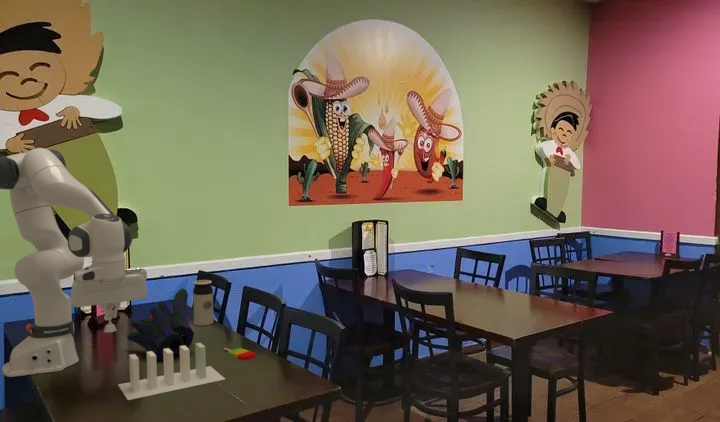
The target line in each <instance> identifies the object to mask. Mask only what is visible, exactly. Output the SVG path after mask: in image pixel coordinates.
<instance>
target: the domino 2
mask: <svg viewBox="0 0 720 422" xmlns="http://www.w3.org/2000/svg"><path fill="white" fill-rule="evenodd" d="M157 371H158V370H157V359H156V355H155V354H154V353H153V352H152V351H146V374H147V375H146V379H147V382H148V385H149V386H150V388H151V389H155V388H157V377H158V374H157V373H158V372H157Z"/></svg>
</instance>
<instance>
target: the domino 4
mask: <svg viewBox="0 0 720 422" xmlns="http://www.w3.org/2000/svg"><path fill="white" fill-rule="evenodd" d="M190 355H191V354H190V348H189V347H188V348H187V347H186V346H185V345H184V346H180V354H179V371H180V377H181V378H182V379H183V380H184V381H185V382H188V381H190V370H191V358H190V357H191V356H190Z"/></svg>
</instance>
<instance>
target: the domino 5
mask: <svg viewBox="0 0 720 422" xmlns="http://www.w3.org/2000/svg"><path fill="white" fill-rule="evenodd" d="M194 345H195V346H194V347H195V348H194V349H195V369H196V374H197V375H198V376H199V377H200V378H201V379H202V378H206V367H207V365H206V363H207V362H206V361H207V359H206V357H207V356H206V345H204V344H203V343H202V342H196V343H195V344H194Z"/></svg>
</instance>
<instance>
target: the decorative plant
mask: <svg viewBox="0 0 720 422" xmlns="http://www.w3.org/2000/svg"><path fill="white" fill-rule="evenodd" d="M188 299H189V293H188V291H187V289H185V288H181V289H179V290H178V291H177V292H175V295H174V297H173V301H172V306H173V307H172V308H173V309H172V312H171V311H170V309H169V308H168V305H167V304H166V302H165V301H160V302H158V305H157V307H156V306H152V307H150V313H151V316H150V317H149V319H148V318H141V319H140V320H139V321H138V320H134V321H132V323H131V326H132V328H134V329H135V331H134V330H133V331H132V332H129V333H128V334H127V336H126V338H127V341H131V342H134V343H135V344H136V345H139V346H141V347H142V348H144V350H146V351H147V352H149V351H152V352H153V353H154V354H155V355H156V360H159V361H162V362H164V356H163V349H166V348H169V349H170V350H171V351H172V352H173V356H175V355H176V354H179V355H180V346H184V345H185V346H186V347H187V348H188V349H189V348H190V345H191V344H192V343H193V340H194V335H195V333H194V330H193V329H192V327H191V326H190V323H189V320H188V309H187V307H188V306H187V305H188Z"/></svg>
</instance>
